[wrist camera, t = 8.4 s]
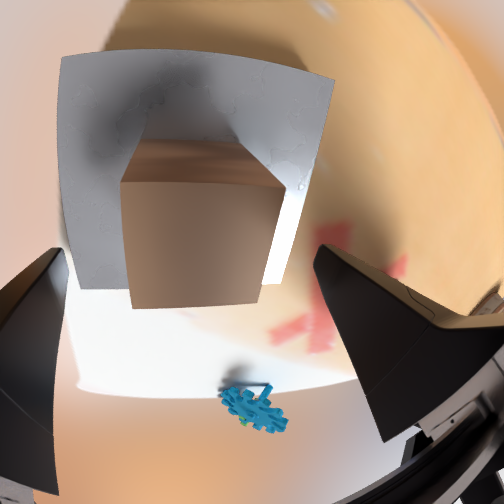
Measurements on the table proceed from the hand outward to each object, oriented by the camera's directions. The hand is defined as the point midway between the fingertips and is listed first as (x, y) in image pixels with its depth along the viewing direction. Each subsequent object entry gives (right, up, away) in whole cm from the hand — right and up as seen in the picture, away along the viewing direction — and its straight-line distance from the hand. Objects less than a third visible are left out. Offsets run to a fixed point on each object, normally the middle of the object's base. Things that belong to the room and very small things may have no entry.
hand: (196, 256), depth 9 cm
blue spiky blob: (+1, -19, +26) cm, 33 cm away
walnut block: (-2, +4, +5) cm, 6 cm away
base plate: (-2, +5, +7) cm, 9 cm away
